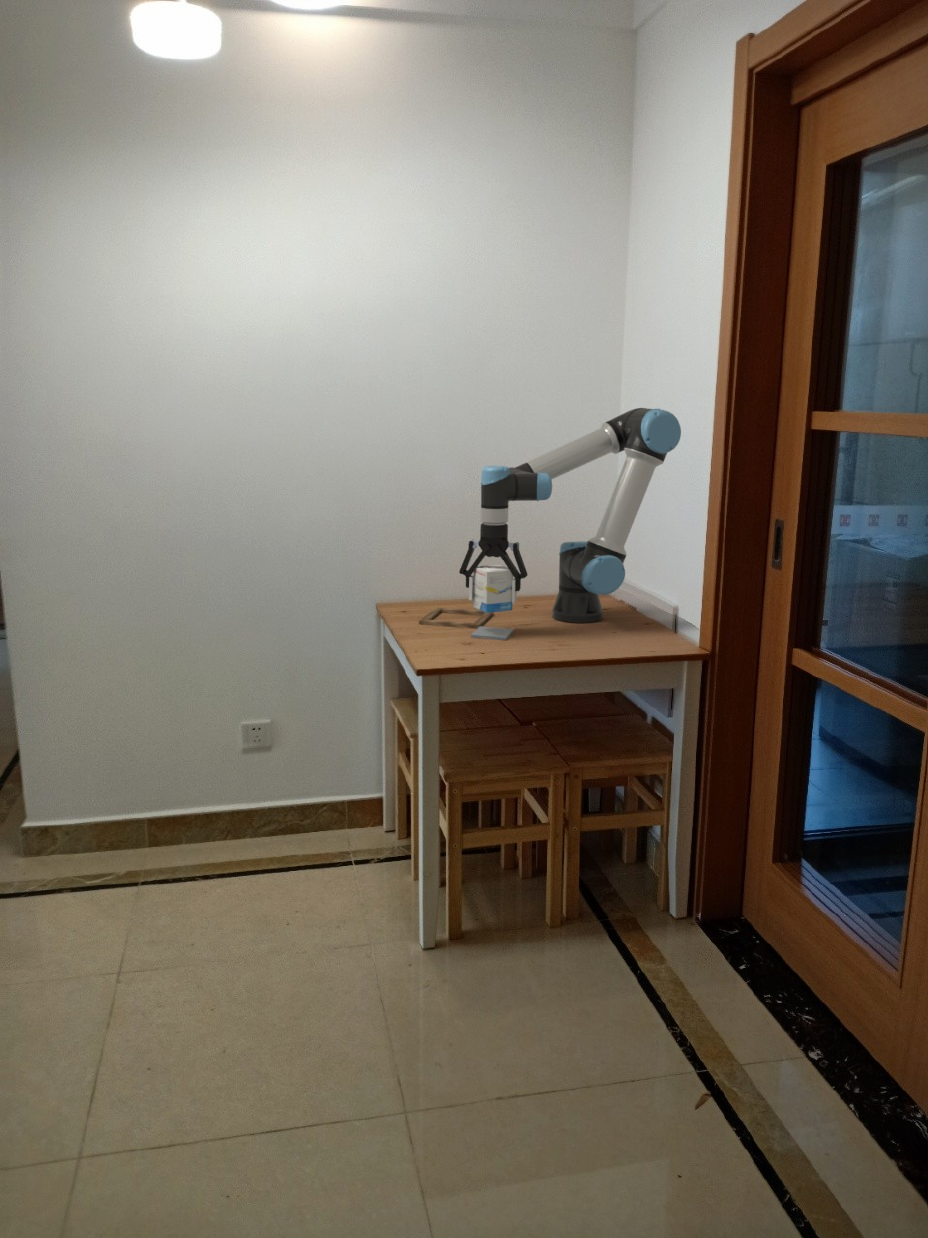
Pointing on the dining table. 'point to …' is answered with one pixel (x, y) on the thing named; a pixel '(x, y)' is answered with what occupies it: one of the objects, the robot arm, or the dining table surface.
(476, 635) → the coaster
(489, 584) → the ink box
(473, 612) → the pocket frame
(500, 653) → the dining table surface
